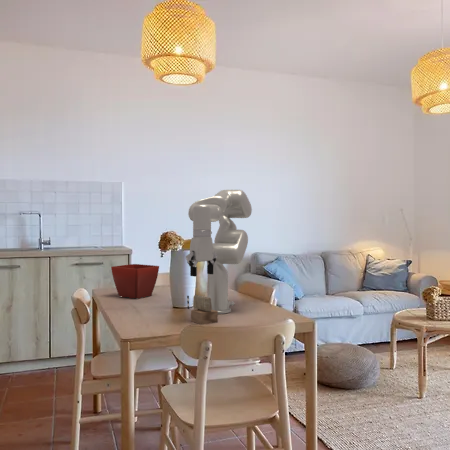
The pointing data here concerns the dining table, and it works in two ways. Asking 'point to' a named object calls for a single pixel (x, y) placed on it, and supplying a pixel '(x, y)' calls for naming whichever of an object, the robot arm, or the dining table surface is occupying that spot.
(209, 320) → the tan box
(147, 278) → the plant pot
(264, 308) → the dining table surface
